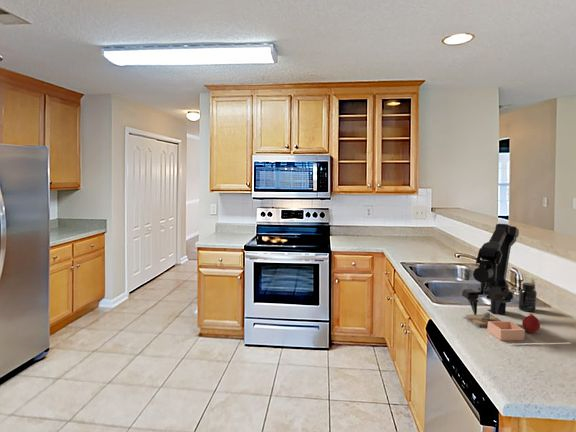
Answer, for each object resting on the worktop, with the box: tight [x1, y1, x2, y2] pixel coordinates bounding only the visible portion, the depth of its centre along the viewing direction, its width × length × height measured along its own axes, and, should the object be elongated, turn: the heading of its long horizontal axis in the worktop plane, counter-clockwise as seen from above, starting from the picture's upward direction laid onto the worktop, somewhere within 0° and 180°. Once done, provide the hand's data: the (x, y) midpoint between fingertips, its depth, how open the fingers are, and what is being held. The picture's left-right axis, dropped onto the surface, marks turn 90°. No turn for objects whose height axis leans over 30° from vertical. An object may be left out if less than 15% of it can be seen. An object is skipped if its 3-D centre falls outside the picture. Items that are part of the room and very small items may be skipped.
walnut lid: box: [465, 311, 502, 327], centre depth 171 cm, size 11×11×4 cm
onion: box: [521, 312, 541, 334], centre depth 161 cm, size 6×6×8 cm
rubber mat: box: [462, 316, 488, 329], centre depth 172 cm, size 13×13×1 cm
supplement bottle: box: [518, 282, 538, 313], centre depth 189 cm, size 7×7×12 cm
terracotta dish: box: [486, 320, 526, 342], centre depth 158 cm, size 9×9×4 cm
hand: (486, 314), depth 171 cm, fingers open, 9 cm apart
